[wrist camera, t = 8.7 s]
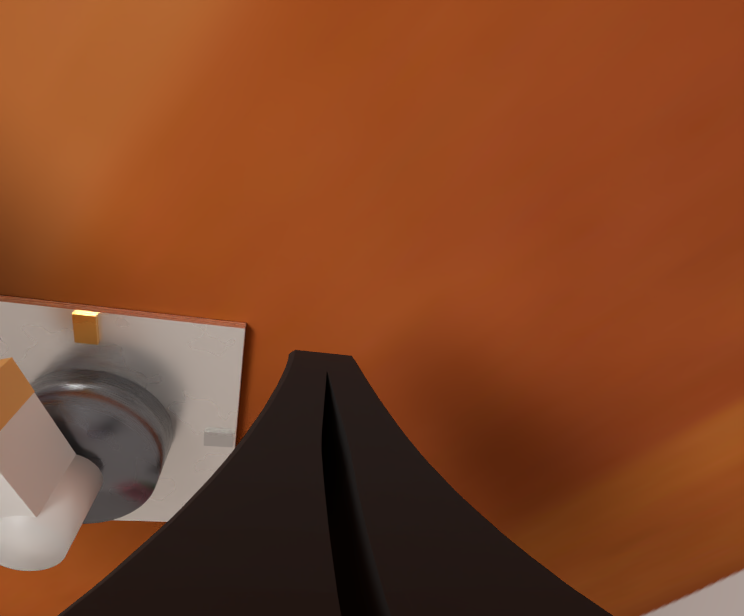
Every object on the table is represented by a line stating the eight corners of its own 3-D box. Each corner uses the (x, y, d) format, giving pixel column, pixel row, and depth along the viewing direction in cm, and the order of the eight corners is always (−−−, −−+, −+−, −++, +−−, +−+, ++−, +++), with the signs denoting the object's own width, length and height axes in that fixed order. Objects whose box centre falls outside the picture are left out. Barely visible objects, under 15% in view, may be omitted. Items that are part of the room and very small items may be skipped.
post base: (-26, 507, 23) (-69, 562, 21) (-88, 285, 18) (-156, 321, 15) (229, 515, 26) (220, 565, 23) (246, 323, 20) (236, 359, 18)
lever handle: (114, 491, 20) (80, 561, 17) (51, 504, 20) (6, 577, 17) (25, 354, 16) (-37, 413, 13) (-53, 370, 16) (-131, 433, 13)
